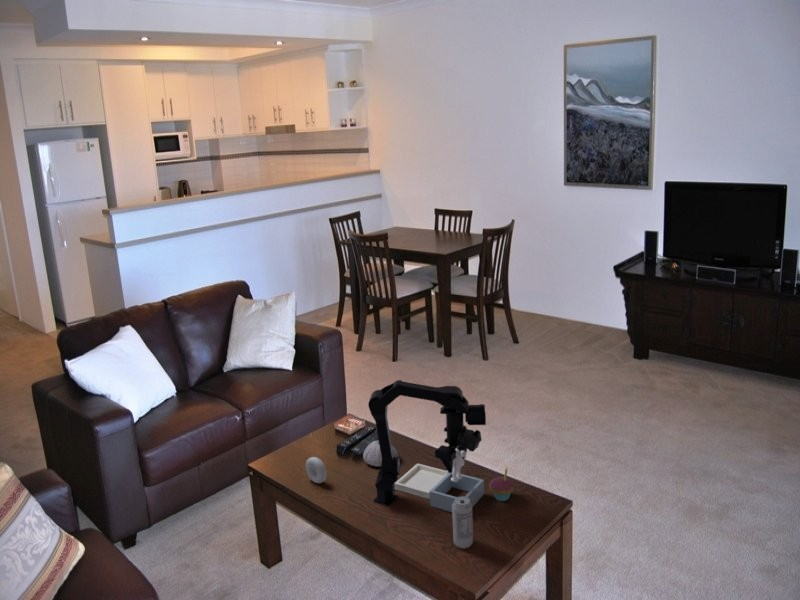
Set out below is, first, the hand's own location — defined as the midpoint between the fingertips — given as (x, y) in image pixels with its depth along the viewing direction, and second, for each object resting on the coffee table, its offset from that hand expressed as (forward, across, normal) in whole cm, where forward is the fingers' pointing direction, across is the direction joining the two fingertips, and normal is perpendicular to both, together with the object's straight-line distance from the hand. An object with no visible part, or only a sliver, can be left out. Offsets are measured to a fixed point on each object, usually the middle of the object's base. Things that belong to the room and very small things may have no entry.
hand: (456, 466), depth 231 cm
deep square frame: (+13, 0, 0) cm, 13 cm away
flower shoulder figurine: (+5, 0, 0) cm, 5 cm away
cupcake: (+13, +8, -13) cm, 20 cm away
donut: (+13, -13, +51) cm, 54 cm away
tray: (+13, +4, +16) cm, 21 cm away
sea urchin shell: (+13, +11, +39) cm, 43 cm away
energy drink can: (+13, -21, -13) cm, 28 cm away
